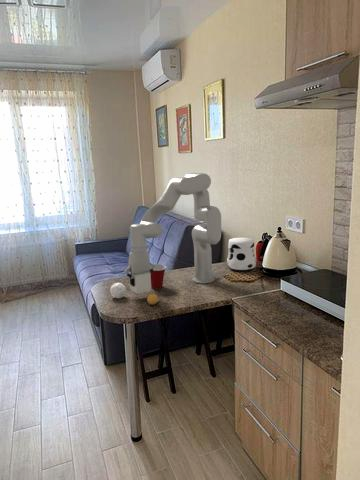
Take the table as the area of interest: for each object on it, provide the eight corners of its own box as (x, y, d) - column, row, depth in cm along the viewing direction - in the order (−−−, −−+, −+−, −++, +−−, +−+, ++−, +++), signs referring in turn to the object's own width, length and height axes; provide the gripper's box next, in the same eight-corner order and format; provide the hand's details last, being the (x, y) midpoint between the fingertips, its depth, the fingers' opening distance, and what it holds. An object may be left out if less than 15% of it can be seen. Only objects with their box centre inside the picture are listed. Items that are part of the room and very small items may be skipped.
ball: (154, 301, 179) (154, 291, 178) (160, 304, 175) (159, 294, 174) (145, 303, 176) (145, 294, 175) (150, 307, 172) (150, 297, 171)
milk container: (261, 268, 225) (261, 239, 221) (244, 274, 213) (244, 244, 210) (238, 263, 237) (238, 235, 233) (221, 269, 226) (220, 240, 222)
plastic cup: (164, 291, 192) (163, 269, 189) (144, 290, 194) (143, 268, 192) (169, 284, 202) (168, 263, 200) (150, 283, 205) (149, 263, 202)
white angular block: (143, 286, 188) (142, 269, 186) (151, 290, 182) (150, 273, 180) (130, 289, 184) (129, 272, 182) (137, 293, 177) (136, 276, 176)
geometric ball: (121, 301, 188) (130, 287, 189) (117, 301, 180) (126, 287, 181) (109, 293, 189) (118, 280, 190) (105, 293, 181) (113, 279, 182)
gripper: (150, 245, 186) (151, 278, 190) (119, 250, 177) (121, 285, 180) (158, 248, 180) (159, 282, 184) (126, 253, 170) (127, 289, 174)
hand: (140, 283), depth 182 cm, fingers closed on white angular block, 7 cm apart
